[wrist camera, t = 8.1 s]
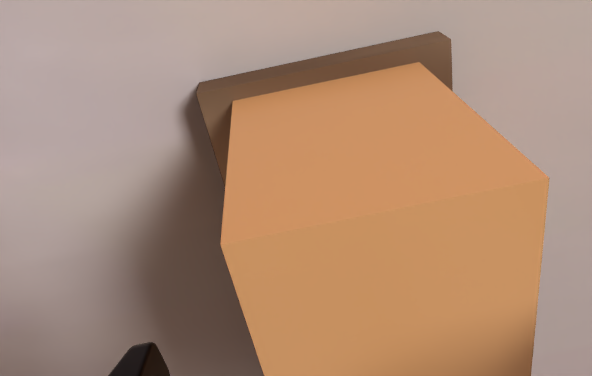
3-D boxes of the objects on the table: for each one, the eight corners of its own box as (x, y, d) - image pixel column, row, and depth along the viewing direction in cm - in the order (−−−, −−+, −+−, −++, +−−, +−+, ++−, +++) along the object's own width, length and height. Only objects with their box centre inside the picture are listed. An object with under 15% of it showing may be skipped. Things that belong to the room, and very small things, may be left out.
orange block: (427, 217, 16) (529, 390, 10) (271, 248, 16) (285, 438, 10) (419, 62, 13) (549, 177, 7) (233, 101, 13) (220, 244, 8)
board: (452, 387, 22) (460, 407, 21) (300, 417, 22) (302, 438, 21) (438, 31, 14) (451, 39, 13) (199, 82, 14) (196, 93, 13)
